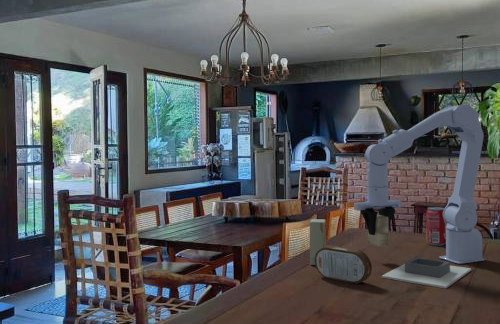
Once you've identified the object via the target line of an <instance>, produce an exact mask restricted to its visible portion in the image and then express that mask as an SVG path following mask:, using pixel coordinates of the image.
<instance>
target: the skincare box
mask: <svg viewBox="0 0 500 324" xmlns="http://www.w3.org/2000/svg"><path fill="white" fill-rule="evenodd" d="M326 221H327V220H326V219H320V218H318V219H317V218H314V219H313V218H311V219H310V221H309V265H310V266H316V265H315V255H316V253H317V251H318V250H319V249H321V248H323V247H324V246H326V245H327V240H326V239H327V234H326V233H327V231H326V227H327V225H326V224H327V223H326Z"/></svg>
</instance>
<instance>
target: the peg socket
mask: <svg viewBox="0 0 500 324" xmlns="http://www.w3.org/2000/svg"><path fill="white" fill-rule="evenodd" d="M471 271H472V268H471V267H470V268H469V267H465V266H464V267H463V266H458V265H457V266H455V265H451V261H447V260H446V261H445V260H437V259H431V258H424V257H418V256H415V257H414V258H411V259H410V260H408V261H405V263H404V264H402V265H400V266H398V267H395V268H394V269H392V270H390V271H388V272H385V273H384V274H383V275H381V278H382V279H383V278H384V279H389V280H395V281H399V282H405V283H412V284H416V285H423V286H427V287H428V286H430V287H434V288H441V289H447V288H449V287H450V286H452V285H453V284H455V282H457V281H458V280H459V279H462V278H463V277H464V276H466V275H467V274H468V273H469V272H471Z"/></svg>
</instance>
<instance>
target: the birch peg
mask: <svg viewBox="0 0 500 324" xmlns="http://www.w3.org/2000/svg"><path fill="white" fill-rule="evenodd" d="M367 244H369V245H373V246H376V247H385V246H389V227H388V217H386V216H381V215H379V214H377V217H376V224H375V235H370V234H369V232H368V231H367Z"/></svg>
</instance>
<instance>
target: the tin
mask: <svg viewBox="0 0 500 324" xmlns="http://www.w3.org/2000/svg"><path fill="white" fill-rule="evenodd" d="M314 266H315V268H316V270H317V271H318V273H319V275H321V276H322V277H323V278H325V279H328V280H335V281H339V282H343V283H348V282H349V284H353V283H355V284H356V285H357V284H360V283H362V282H365V281H366V280H368V279H369V278H370V276H371V274H372V271H373V266H372V262H371V259H370V257H369V255H368V254H367V253H366V252H364V251H363V250H361V249H358V248H354V247H347V246H339V245H334V244H326V246H324V247H323V248H321V249H319V250H318V251H317V253H316V255H315V265H314Z"/></svg>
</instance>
